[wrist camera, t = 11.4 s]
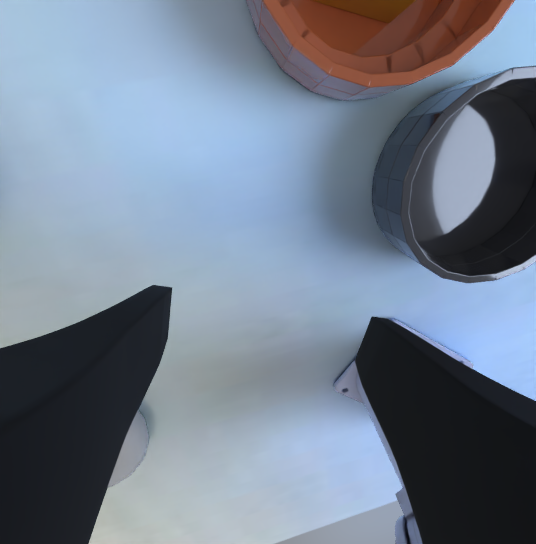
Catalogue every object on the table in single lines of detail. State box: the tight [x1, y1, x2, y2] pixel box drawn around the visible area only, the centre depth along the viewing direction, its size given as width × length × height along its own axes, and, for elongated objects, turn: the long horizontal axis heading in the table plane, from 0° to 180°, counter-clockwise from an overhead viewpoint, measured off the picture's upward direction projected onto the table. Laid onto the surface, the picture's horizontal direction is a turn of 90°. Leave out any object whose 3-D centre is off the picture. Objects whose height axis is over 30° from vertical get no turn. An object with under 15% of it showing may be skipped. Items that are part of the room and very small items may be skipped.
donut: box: [108, 410, 149, 487], centre depth 24 cm, size 10×4×10 cm
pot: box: [372, 66, 536, 283], centre depth 17 cm, size 11×11×4 cm
